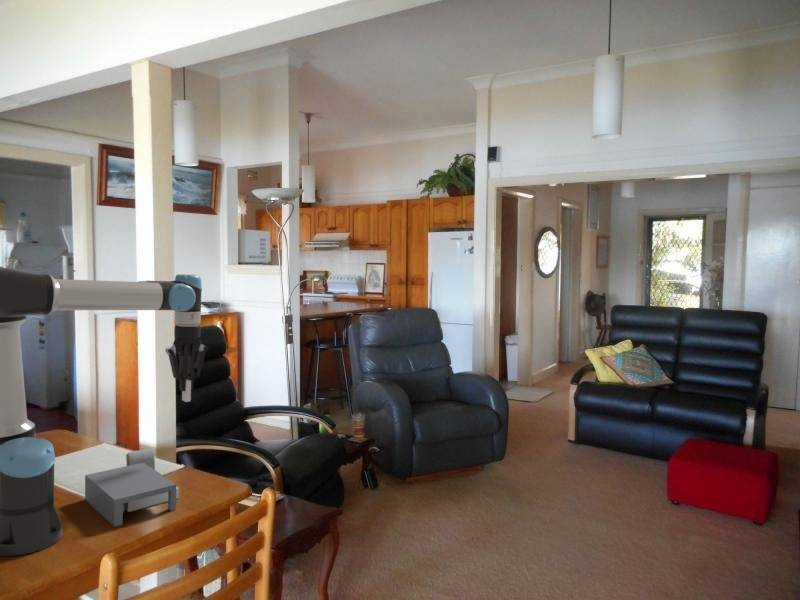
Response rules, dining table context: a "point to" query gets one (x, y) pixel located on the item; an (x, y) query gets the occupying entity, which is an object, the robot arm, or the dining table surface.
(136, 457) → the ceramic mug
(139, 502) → the ribbed white block
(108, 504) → the low shelf
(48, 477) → the robot arm
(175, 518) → the dining table surface
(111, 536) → the dining table surface
